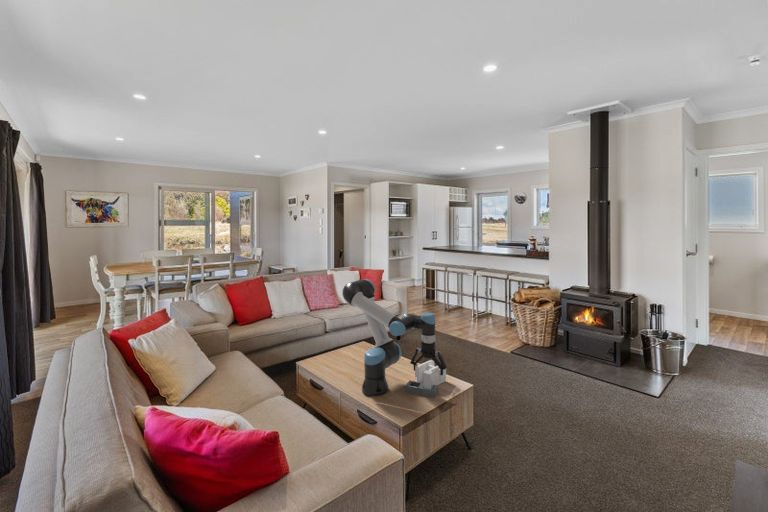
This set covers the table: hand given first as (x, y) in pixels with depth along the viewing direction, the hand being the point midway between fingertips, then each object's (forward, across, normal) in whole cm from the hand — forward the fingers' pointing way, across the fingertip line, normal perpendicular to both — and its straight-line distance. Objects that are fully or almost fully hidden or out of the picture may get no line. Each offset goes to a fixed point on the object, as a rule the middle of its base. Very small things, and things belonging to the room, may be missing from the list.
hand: (428, 378), depth 204 cm
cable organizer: (+9, -2, +13) cm, 16 cm away
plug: (+8, 0, 0) cm, 8 cm away
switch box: (+9, -4, 0) cm, 10 cm away
